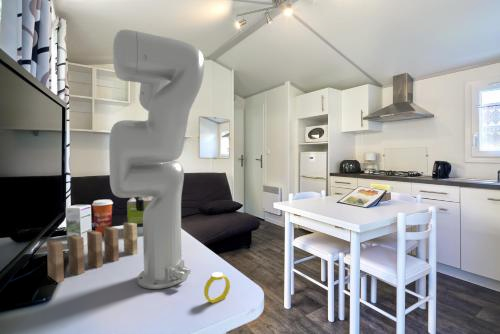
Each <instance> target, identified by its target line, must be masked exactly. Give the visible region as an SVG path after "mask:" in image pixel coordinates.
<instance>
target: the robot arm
mask: <svg viewBox="0 0 500 334" xmlns="http://www.w3.org/2000/svg"><path fill="white" fill-rule="evenodd" d="M112 55H113V56H112V57H113V58H112V63H113V64H112V65H113V69H114V73H115V75H116V77H117V78H118V79H119V80H120V81H124V82H132V83H138V84H140V88H139V97H138V99H139V100H138V101H139V104H140V105H141V106H142V108H143V109H144V110H146V111H147V112H148V115H147V120H130V119H129V120H128V119H126V120H125V119H124V120H119V121H116V122H115V123H114V124H113V125H112V127H111V129H110V134H109V141H108V143H109V144H108V145H109V146H108V148H109V149H108V150H109V152H108V153H109V158H108V159H109V185H110V189H111V193H112V194H113V195H114V196H115V197H118V198H121V199H122V198H123V199H126V198H127V199H128V198H129V199H130V198H133V197H134V199H135V200H136V210H137V211H144V213H143V235H142V238H143V243H142V244H143V245H142V247H143V271H141V272H140V273H139V274H138V275H137V284H138V285H139V286H140V287H142V288H145V289H148V290H161V289H165V288H166V289H167V288H171V287H173V286H176V285H179V284H180V283H182V282H185V281H186V280H187V279H188V276H189V275H190V274H191V268H187V267H186V266H185V260H184V259H183V260H182V194H183V187H184V181H185V180H184V179H185V171H184V166H183V165H182V164H181V163H179V161H177V160H178V159H179V158H180V157H181V155H182V153H183V150H184V145H185V138H186V133H187V128H188V124H189V123H188V121H189V115H190V111H191V109H192V107H193V104H194V102H195V100H196V98H197V96H198V94H199V92H200V89H201V87H202V84H203V81H204V80H203V79H204V73H205V59H204V55H203V53H202V52H201V50H200V49H199V47H197V46H195V45H194V44H191V43H188V42H185V41H182V40H179V39H174V38H170V37H166V36H159V35H155V34H150V33H146V32H142V31H137V30H131V29H121V30H119V31H118V32H116V33H115V35H114V39H113V45H112ZM147 196H149V197H150V196H152V197H153V199H152V200H151V201H150V202H149V204H148V205H147V207H146V208H145V210H144V200H142V197H147Z"/></svg>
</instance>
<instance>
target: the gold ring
mask: <svg viewBox="0 0 500 334" xmlns="http://www.w3.org/2000/svg"><path fill="white" fill-rule="evenodd" d="M210 276H211V277H210V278H209V279H208V280H207V281H206V283H205V285H204V289H203V293H204V297H205V299H206V300H207V301H208V302H209V303H211V304H215V303H218V302H220V301H223V300H225V299H226V297H227V296H228V294H229V292H230V289H231V288H230V287H231V282H230V279H229V278H228V277H227V276H226V275H224V272H221V271H215V272H212V273H211V275H210ZM223 279H224V280H225V286H224V290H223V292H222V293H221V295H218V296H216V297H214V298H210V296H209V289H210V287H211V285H212V284H213V282H214V281H221V280H223Z"/></svg>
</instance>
